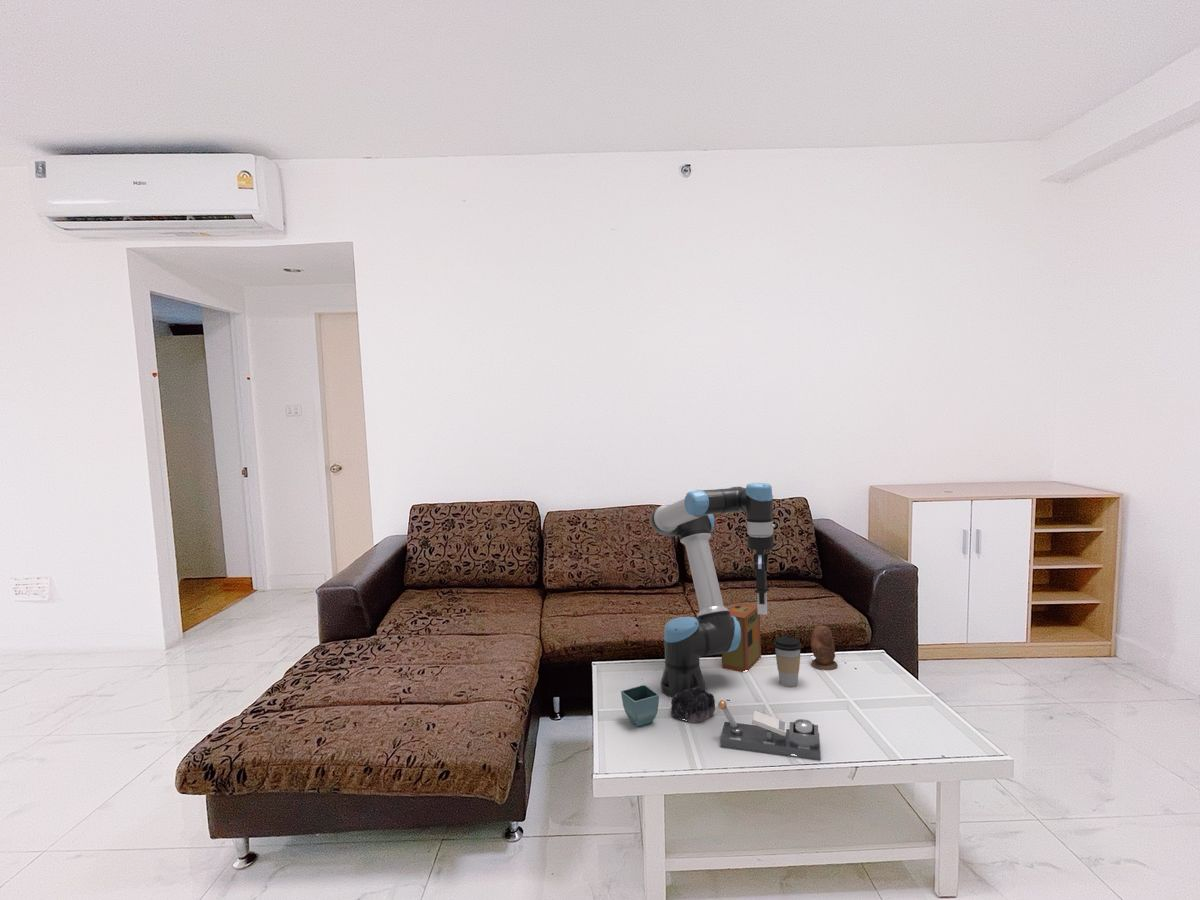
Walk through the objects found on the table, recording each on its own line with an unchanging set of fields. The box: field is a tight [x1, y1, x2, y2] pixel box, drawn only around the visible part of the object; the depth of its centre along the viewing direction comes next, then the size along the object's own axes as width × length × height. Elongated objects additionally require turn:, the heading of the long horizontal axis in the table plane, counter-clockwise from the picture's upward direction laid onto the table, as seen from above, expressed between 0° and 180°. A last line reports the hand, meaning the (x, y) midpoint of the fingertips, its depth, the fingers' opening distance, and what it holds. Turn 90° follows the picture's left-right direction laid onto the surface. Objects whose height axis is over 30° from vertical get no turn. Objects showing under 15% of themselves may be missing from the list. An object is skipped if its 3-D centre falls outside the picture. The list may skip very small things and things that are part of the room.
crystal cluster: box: [670, 686, 716, 724], centre depth 186 cm, size 13×14×10 cm
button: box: [794, 718, 813, 735], centre depth 164 cm, size 4×4×4 cm
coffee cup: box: [772, 635, 803, 688], centre depth 206 cm, size 9×9×15 cm
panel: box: [719, 721, 821, 761], centre depth 167 cm, size 26×10×5 cm, turn 71°
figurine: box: [810, 624, 838, 671], centre depth 220 cm, size 9×10×15 cm
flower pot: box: [620, 684, 660, 727], centre depth 182 cm, size 9×9×9 cm
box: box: [721, 602, 762, 673], centre depth 225 cm, size 17×9×20 cm, turn 147°
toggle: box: [717, 699, 737, 728], centre depth 170 cm, size 2×2×8 cm
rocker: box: [751, 710, 788, 736], centre depth 167 cm, size 9×6×1 cm, turn 71°
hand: (762, 613), depth 179 cm, fingers closed
